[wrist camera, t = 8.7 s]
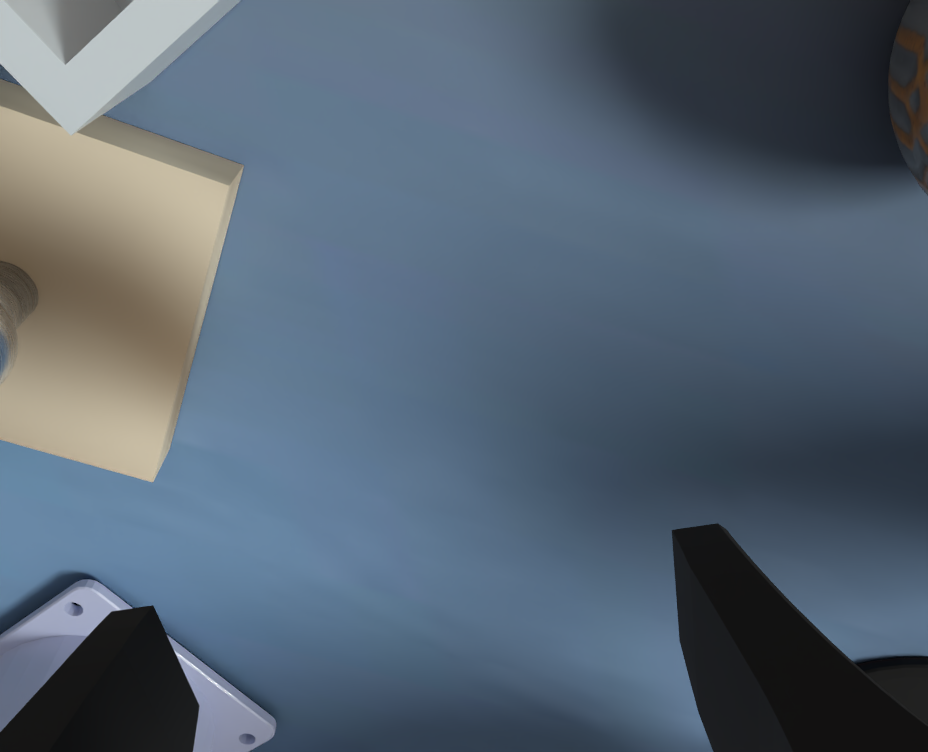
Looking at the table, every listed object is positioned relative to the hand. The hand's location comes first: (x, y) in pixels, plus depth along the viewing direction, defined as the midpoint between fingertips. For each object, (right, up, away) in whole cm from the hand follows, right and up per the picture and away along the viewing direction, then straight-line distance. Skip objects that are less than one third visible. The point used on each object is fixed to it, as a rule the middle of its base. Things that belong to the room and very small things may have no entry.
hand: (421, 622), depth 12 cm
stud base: (-9, +6, +8) cm, 14 cm away
